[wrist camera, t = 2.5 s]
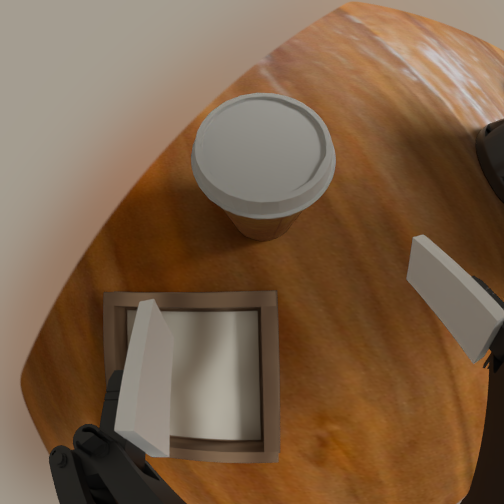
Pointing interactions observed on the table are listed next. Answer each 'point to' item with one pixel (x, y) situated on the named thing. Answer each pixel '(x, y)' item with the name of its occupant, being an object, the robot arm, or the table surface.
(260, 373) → the holder
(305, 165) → the disposable coffee cup
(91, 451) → the robot arm
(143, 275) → the table surface
